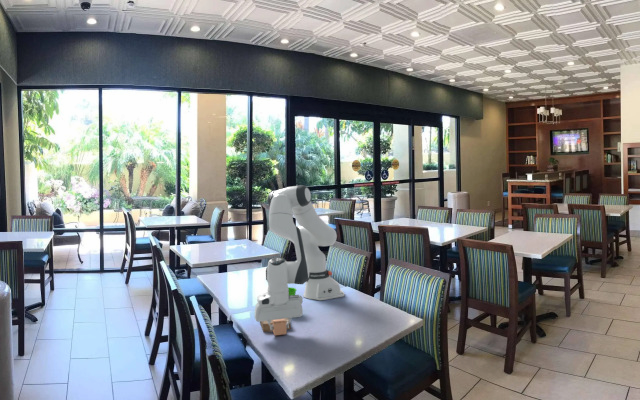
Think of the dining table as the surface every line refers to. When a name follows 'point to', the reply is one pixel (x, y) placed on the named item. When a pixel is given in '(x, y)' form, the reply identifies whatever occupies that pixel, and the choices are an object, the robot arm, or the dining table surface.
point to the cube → (279, 326)
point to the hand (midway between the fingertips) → (279, 328)
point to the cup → (292, 291)
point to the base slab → (266, 326)
